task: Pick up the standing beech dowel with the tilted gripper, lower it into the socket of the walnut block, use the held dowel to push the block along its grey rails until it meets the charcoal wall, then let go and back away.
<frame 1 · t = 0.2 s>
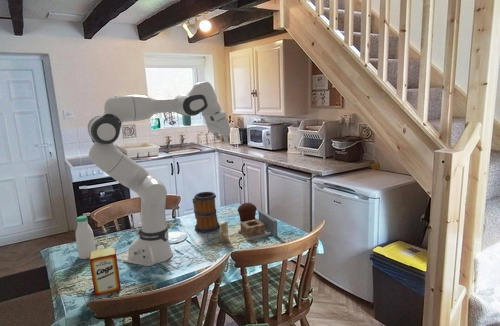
hand: (222, 140, 168), 52 cm above the table, tool tilted 20°, fingers open, 8 cm apart
milk bottle: (87, 256, 165), on the table
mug: (205, 227, 194), on the table
baking soda box: (107, 289, 136), on the table
dowel: (224, 241, 175), on the table
backstop: (252, 234, 181), on the table
socket block: (252, 228, 181), point 3 cm above the table, slide at 0.0 cm
muffin: (247, 220, 203), on the table
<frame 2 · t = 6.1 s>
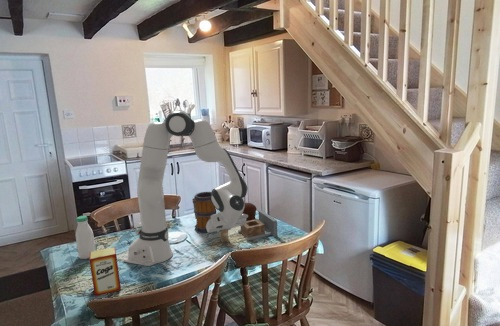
hand: (223, 229, 174), 6 cm above the table, tool tilted 45°, fingers closed on dowel, 4 cm apart
dowel: (224, 240, 175), on the table, touching gripper
everything else where it was.
when the fingers open (9 cm above the table, at t = 14.7 s): dowel stays where it is, resting on socket block.
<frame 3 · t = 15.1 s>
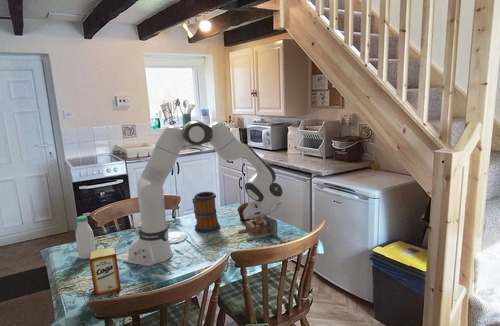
hand: (257, 217, 182), 9 cm above the table, tool tilted 45°, fingers open, 6 cm apart
dowel: (258, 229, 182), point 2 cm above the table, touching socket block
socket block: (257, 227, 182), point 3 cm above the table, slide at 3.0 cm, touching backstop, dowel
everything else where it was.
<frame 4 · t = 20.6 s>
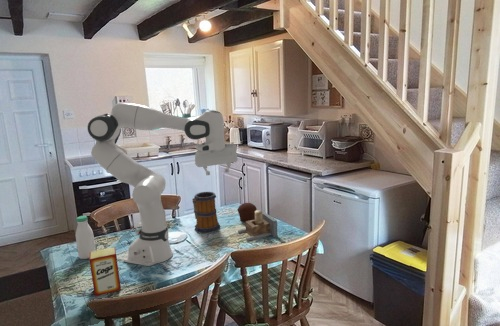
hand: (217, 173, 162), 37 cm above the table, tool pointing down, fingers open, 8 cm apart
socket block: (257, 227, 182), point 3 cm above the table, slide at 3.0 cm, touching dowel
everything else where it was.
at the end: socket block slide at 3.0 cm; dowel 0.7 cm from the target spot, point 2.2 cm above the table; dowel tilted 1° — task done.
